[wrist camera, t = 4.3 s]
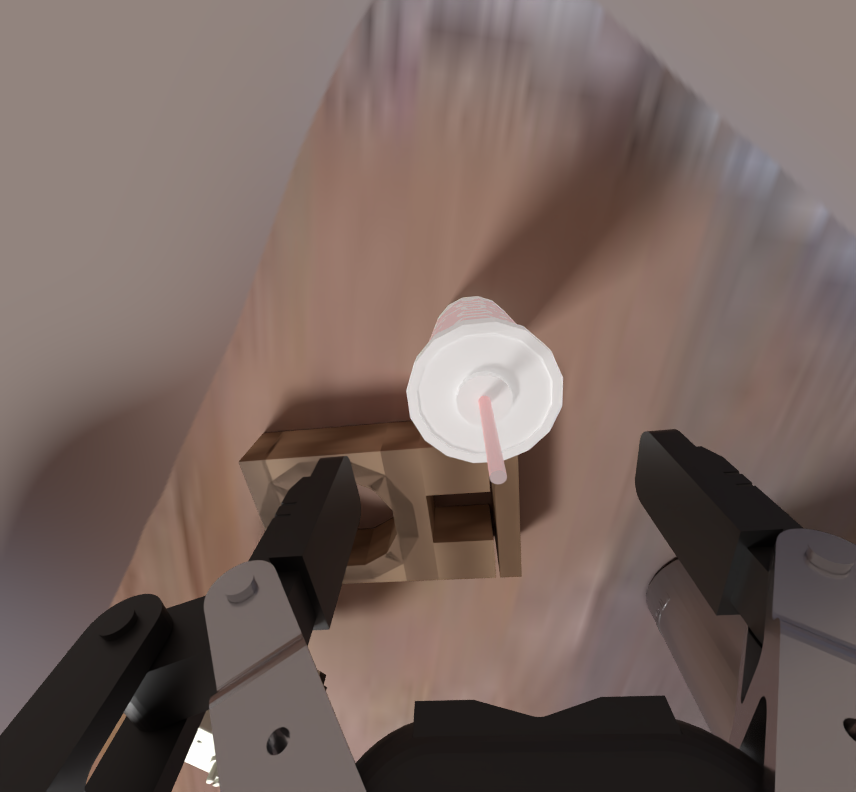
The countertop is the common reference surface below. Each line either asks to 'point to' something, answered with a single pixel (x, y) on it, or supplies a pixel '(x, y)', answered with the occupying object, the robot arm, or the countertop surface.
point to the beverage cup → (483, 386)
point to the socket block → (399, 501)
